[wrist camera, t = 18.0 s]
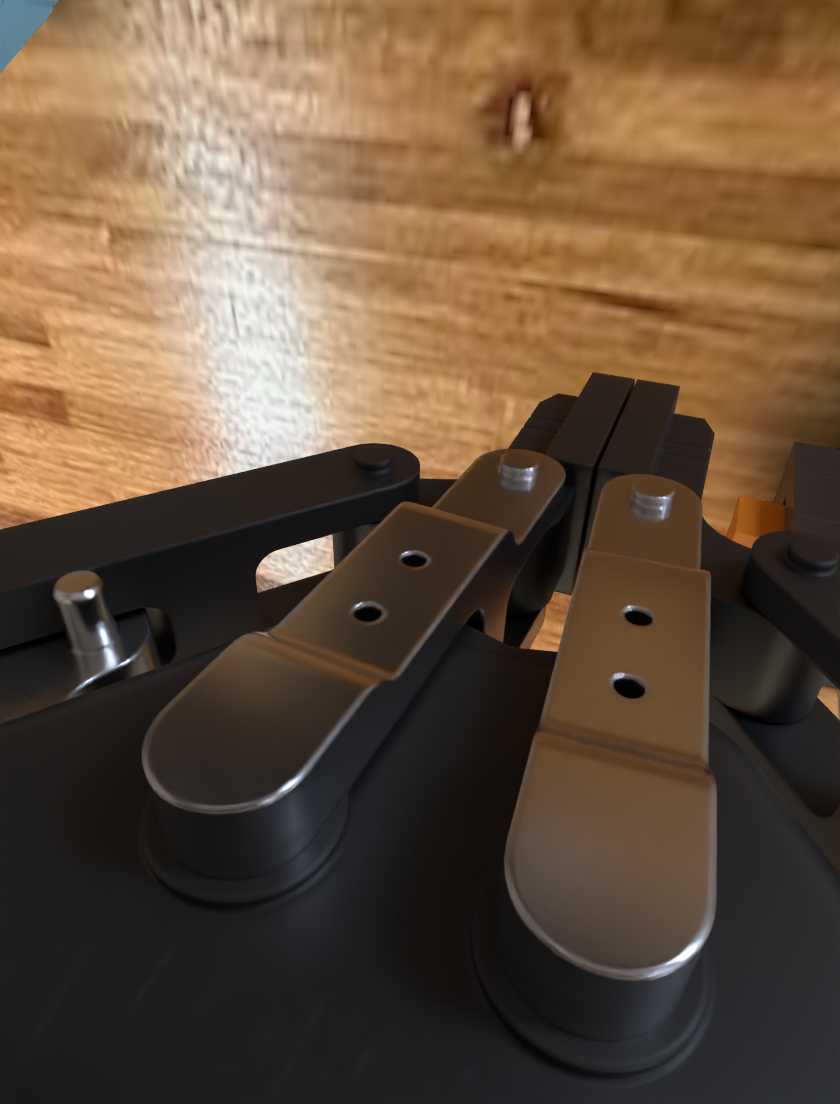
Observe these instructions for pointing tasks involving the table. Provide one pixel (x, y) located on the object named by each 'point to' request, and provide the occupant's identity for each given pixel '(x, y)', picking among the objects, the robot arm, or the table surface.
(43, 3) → the teapot
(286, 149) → the table surface
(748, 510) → the switch
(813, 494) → the kettle
